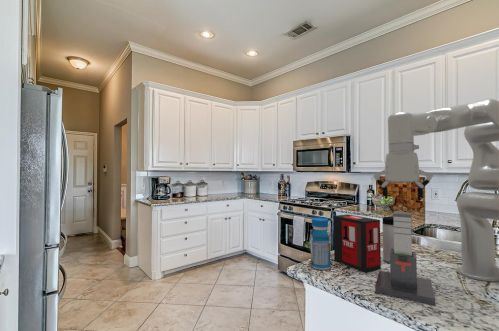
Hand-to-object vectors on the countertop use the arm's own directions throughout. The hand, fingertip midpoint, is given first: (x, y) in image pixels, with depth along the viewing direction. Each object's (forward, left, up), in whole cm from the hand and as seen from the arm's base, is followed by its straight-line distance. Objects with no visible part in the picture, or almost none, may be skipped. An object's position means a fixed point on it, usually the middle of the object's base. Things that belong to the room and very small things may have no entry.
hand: (402, 199), depth 87 cm
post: (0, 0, -22) cm, 22 cm away
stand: (0, 0, -30) cm, 30 cm away
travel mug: (+5, -28, -30) cm, 41 cm away
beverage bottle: (+30, -6, -30) cm, 43 cm away
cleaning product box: (+18, -16, -30) cm, 39 cm away
